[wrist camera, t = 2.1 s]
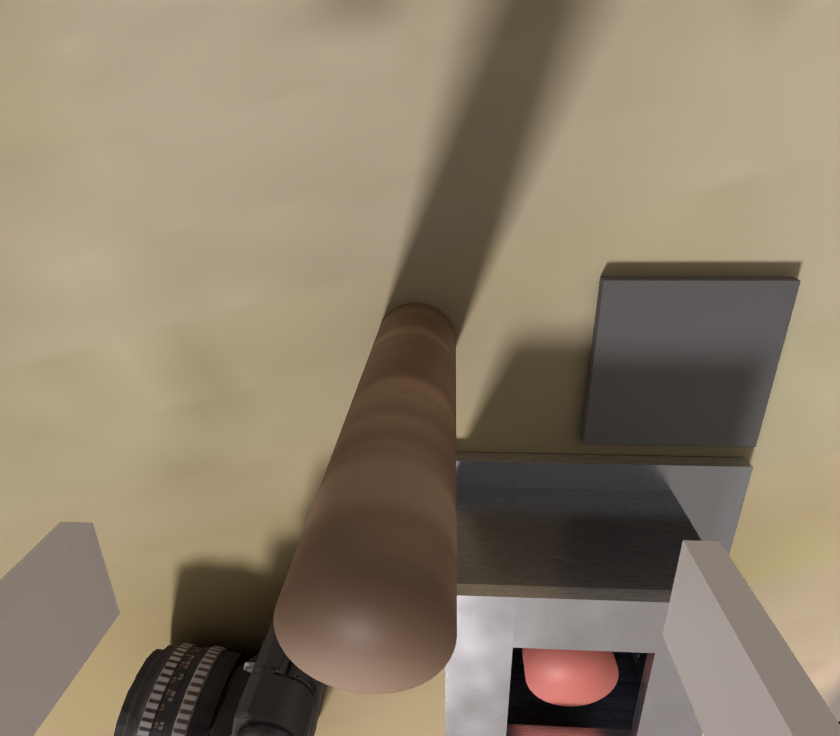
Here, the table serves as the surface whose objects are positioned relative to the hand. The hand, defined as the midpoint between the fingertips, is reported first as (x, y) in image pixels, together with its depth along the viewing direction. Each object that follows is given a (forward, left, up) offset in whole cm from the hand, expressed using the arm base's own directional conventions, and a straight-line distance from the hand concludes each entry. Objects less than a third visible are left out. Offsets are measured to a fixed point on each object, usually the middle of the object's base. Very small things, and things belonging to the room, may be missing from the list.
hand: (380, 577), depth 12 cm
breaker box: (+13, +7, -14) cm, 20 cm away
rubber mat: (+1, +12, -14) cm, 19 cm away
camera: (+21, -11, -15) cm, 27 cm away
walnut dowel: (0, 0, -14) cm, 14 cm away
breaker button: (+13, +7, -11) cm, 18 cm away
